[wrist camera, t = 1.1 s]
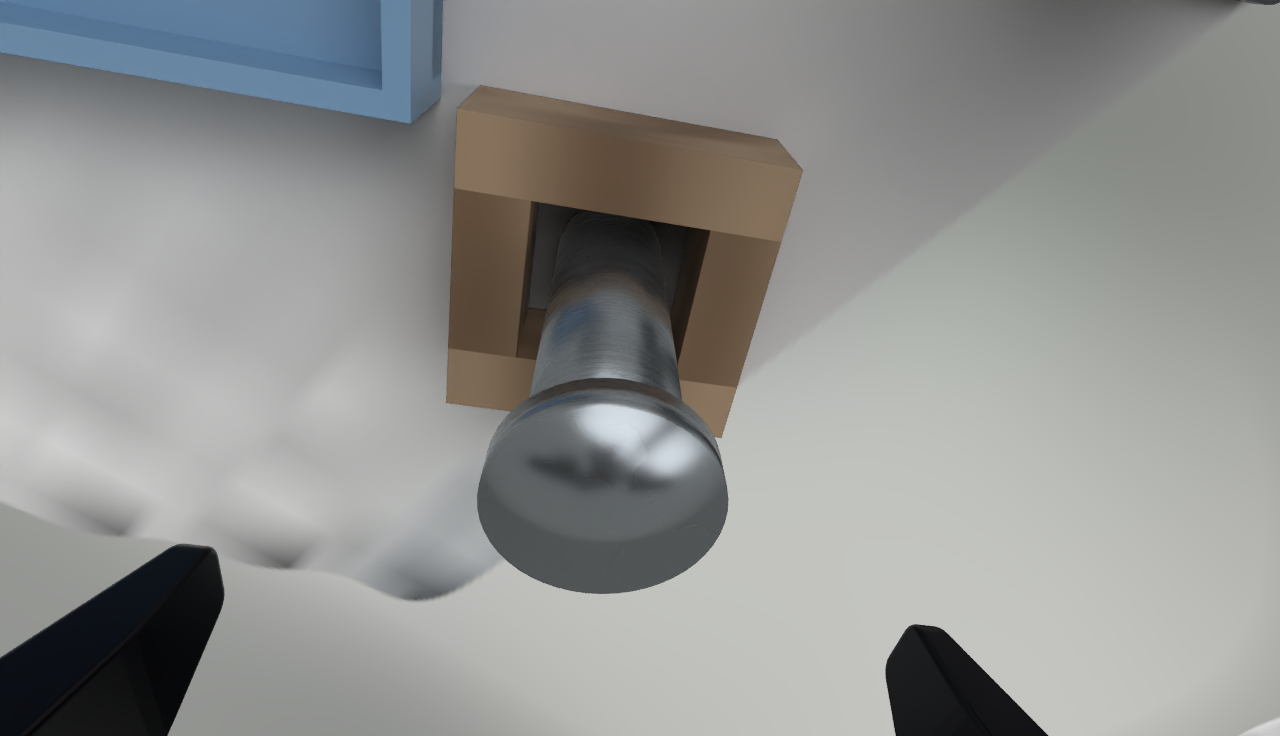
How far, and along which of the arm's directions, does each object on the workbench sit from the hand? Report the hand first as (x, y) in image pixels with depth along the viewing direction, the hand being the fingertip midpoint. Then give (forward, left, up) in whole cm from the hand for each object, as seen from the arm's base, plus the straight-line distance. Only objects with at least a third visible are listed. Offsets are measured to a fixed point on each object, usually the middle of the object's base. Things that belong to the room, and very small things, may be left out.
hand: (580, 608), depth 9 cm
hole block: (0, 0, -13) cm, 13 cm away
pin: (0, 0, -13) cm, 13 cm away
